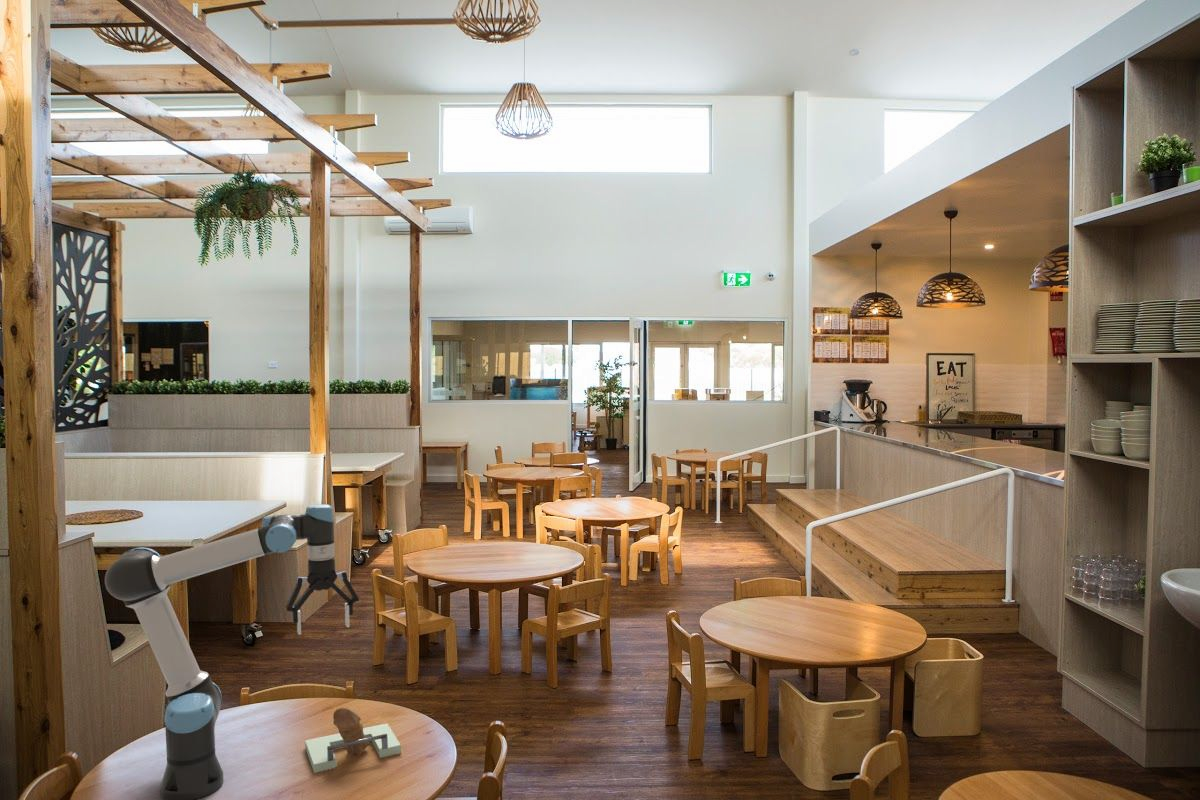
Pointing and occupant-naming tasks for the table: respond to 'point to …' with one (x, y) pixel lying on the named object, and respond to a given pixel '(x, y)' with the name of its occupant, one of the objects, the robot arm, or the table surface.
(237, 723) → the table surface
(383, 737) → the bar handle
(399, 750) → the pale green u-shaped slab
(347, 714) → the figurine
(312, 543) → the robot arm
